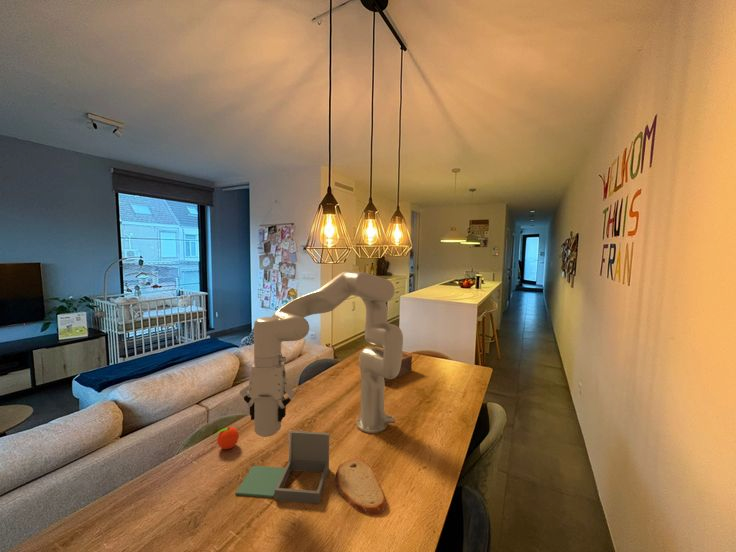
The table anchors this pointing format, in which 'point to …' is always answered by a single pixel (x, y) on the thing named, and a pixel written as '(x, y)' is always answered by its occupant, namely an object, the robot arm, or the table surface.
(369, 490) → the slice of bread
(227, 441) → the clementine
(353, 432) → the table surface
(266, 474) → the mat
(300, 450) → the grey open box
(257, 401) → the can
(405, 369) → the tissue box cover
